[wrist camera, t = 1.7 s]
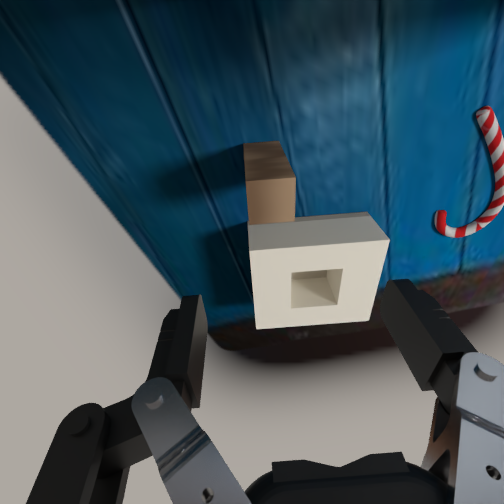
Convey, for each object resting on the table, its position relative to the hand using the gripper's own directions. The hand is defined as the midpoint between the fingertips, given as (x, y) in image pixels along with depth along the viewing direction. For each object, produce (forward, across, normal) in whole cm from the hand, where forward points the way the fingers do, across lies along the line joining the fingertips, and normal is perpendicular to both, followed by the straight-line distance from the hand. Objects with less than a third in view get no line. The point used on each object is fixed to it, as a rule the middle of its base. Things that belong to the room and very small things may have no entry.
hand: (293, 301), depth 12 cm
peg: (+20, 0, 0) cm, 20 cm away
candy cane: (+21, -23, +4) cm, 31 cm away
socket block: (+20, -5, +13) cm, 25 cm away
